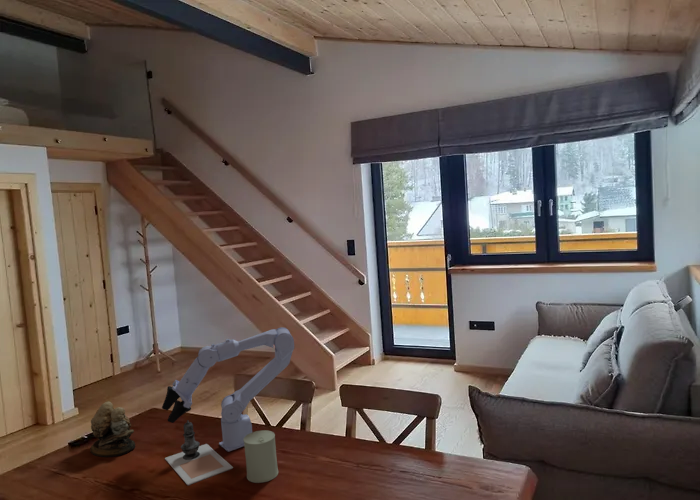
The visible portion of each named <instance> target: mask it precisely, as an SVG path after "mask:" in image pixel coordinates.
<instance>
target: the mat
mask: <svg viewBox="0 0 700 500" xmlns="http://www.w3.org/2000/svg"><path fill="white" fill-rule="evenodd" d="M197 452H199V453H200V455H199V456H198V457H197V458H195V459H191V460H185V459H183V456H184V455H185V453H183V451H181V452H178V453H174V454H173V455H169V456H167V457H165V458H164V460H165V461H166V462H167V463H168V464H169V465H170V466H171V468H172V469H173V470H174V471H175V472H176V473H177V475H178V476H179V478H180V479H182V480H183V482H184V483H185V484H186V485H187V486H191V485H192V484H195V483H198V482H201V481H203V480H205V479H208V478H212V477H213V476H214V477H215V476H217V475H219V474H222V473H225V472H227V471H230V470H232V469H233V468H234V467H233V466H232V465H231V464H230V463H229V462H228V461H227V460H226V459H224V458H223V457H222V456H221V455H220V454H219V453H217V451H215V449H213V448H212V447H211V446H210V445H209V444H208V443H205V444H201V445H199V448H198V450H197Z"/></svg>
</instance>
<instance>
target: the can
mask: <svg viewBox="0 0 700 500" xmlns="http://www.w3.org/2000/svg"><path fill="white" fill-rule="evenodd" d="M243 447H244V455H245V456H244V457H245V466H246V479H247V480H248V481H249V482H251V483H255V484H260V483H267V482H269V481H272V480H273V479H276V477H277V476H278V475H279V469H278V461H277V460H278V459H277V447H276V433H275V432H274V431H271V430H267V429H266V430H265V429H264V430H256V431H252V433H250V434H248V435H246V436H245V437H244V446H243Z"/></svg>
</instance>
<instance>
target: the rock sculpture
mask: <svg viewBox="0 0 700 500" xmlns="http://www.w3.org/2000/svg"><path fill="white" fill-rule="evenodd" d="M130 421H131V420H130V418H129V417H128V416H127V415H126V409H125V408H124V407H122V406H121V407H120V406H119V407H116V408H114V403H112V401H105V402H104V403H102V404H101V405H100V407H98V409H97V410H96V412H95V414H94V416H93V417H92V418H91V420H90V423H91V424H90V425H91V426H90V429H91V431H92V434H93V436H94V437H95V439H97V440H96V441H94V442H93V443H92V445H91V446H90V447H89V450H90V453H91V455H94V456H96V457H101V458H114V457H120V456H122V455H127V453H129V452H131V451H132V450H134V449H136V446H137V445H136V442H135V440H132V439H131V438H130V437H131V436H132V434H133V433H135V430H134V429H131V427H132V424H131V422H130Z"/></svg>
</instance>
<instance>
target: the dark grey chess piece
mask: <svg viewBox="0 0 700 500" xmlns="http://www.w3.org/2000/svg"><path fill="white" fill-rule="evenodd" d="M183 432H184V433H183V437H184V443H182V444H181V445H180V449H181V450H182V451H181V452H183V453H185V455H184V456H183V459H185V460H191V459H195V458H197V457H198V456H199V455H200V453H199V452H197V450H198V448H199V446H201V445H200V444H201V443H200V442H199V441H198V440H196V438H195V434H196V433H195V431H194V424H193V422H191V421H189V420H188V419H187V420H186V422H185V423H184V425H183Z"/></svg>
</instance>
